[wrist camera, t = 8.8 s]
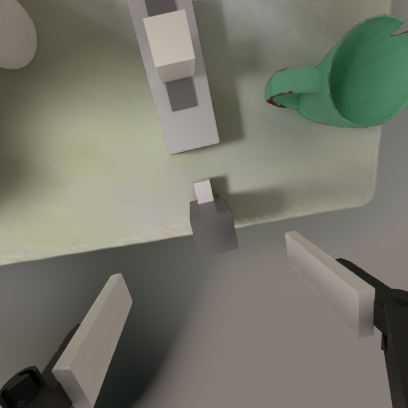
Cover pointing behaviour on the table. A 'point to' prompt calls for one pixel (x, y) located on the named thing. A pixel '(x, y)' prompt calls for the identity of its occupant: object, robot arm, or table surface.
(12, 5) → the pale pink cylinder
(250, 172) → the table surface
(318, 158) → the table surface
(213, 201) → the grey rectangular block
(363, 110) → the mug
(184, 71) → the block
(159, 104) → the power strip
